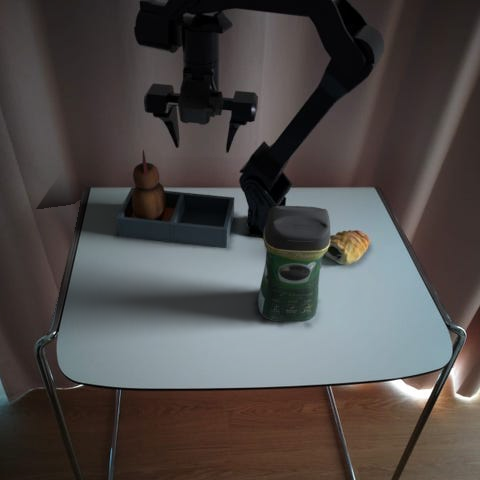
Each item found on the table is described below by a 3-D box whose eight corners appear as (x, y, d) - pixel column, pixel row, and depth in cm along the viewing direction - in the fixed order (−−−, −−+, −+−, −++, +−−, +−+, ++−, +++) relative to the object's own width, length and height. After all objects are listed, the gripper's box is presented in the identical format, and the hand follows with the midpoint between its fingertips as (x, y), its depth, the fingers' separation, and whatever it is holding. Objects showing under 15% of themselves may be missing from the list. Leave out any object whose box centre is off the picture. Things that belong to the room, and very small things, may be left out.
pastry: (349, 232, 96) (353, 216, 93) (377, 250, 93) (382, 233, 90) (317, 252, 92) (320, 236, 89) (345, 271, 88) (350, 254, 86)
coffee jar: (313, 291, 84) (332, 198, 71) (317, 326, 79) (338, 232, 65) (257, 289, 84) (265, 195, 71) (256, 323, 79) (265, 228, 65)
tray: (234, 214, 99) (234, 197, 96) (226, 247, 92) (227, 230, 89) (133, 204, 100) (131, 187, 97) (119, 236, 93) (116, 218, 90)
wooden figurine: (160, 231, 93) (153, 158, 82) (131, 227, 93) (120, 154, 82) (170, 211, 98) (164, 139, 87) (142, 207, 98) (132, 135, 87)
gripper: (129, 72, 74) (141, 167, 85) (254, 83, 73) (248, 177, 84) (148, 46, 81) (156, 136, 93) (260, 55, 80) (255, 146, 92)
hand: (202, 149), depth 90 cm, fingers open, 9 cm apart
